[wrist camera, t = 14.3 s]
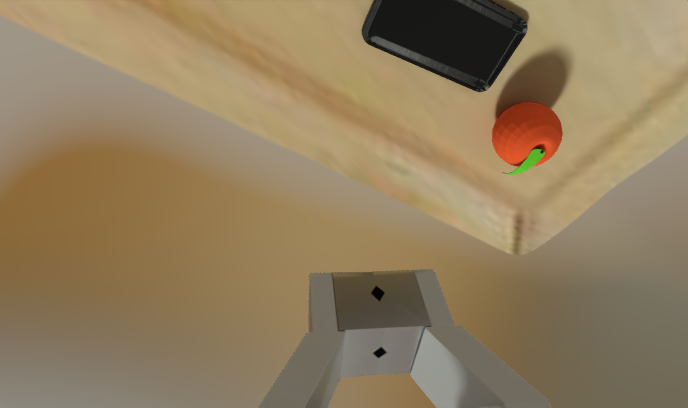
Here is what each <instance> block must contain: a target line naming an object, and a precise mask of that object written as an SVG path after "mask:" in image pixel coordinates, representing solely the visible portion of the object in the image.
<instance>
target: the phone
mask: <svg viewBox="0 0 688 408" xmlns="http://www.w3.org/2000/svg"><path fill="white" fill-rule="evenodd" d="M526 32H527V23H526V21H524V20H523V19H522V18H520V17H518V16H516V15H515V14H514V13H513V12H511V11H507V10H506V8H504V7H502V6H500V5H498V4H497V5H496V4H495V2H493V1H491V0H374V2H373V4H372V7H371V9H370V11H369V13H368V16H367V18H366V20H365V22H364V25H363V27H362V36H363V38H364V40H365V42H366V43H367V44H369V45H371V46H373V47H375V48H378V49H380V50H382V51H385V52H387V53H389V54H391V55H394V56H396V57H398V58H401V59H403V60H405V61H408V62H410V63H412V64H414V65H417V66H419V67H421V68H424V69H426V70H428V71H431V72H433V73H435V74H437V75H440V76H442V77H444V78H447V79H449V80H451V81H453V82H456V83H458V84H460V85H463V86H465V87H467V88H470V89H472V90H474V91H477V92H483V91H486V90H487V89H489V88H490V87H491V85H492V84H493V82H494V81H495V79H496V78H497V76H498V75H499V74H500V72H501V71H502V69H503V68H504V66H505V65H506V63H507V62H508V60H509V59H510V57H511V56H512V54H513V53H514V51H515V50H516V48H517V47H518V45H519V44H520V42H521V41H522V39H523V38H524V36H525V34H526Z"/></svg>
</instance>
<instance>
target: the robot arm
mask: <svg viewBox="0 0 688 408" xmlns="http://www.w3.org/2000/svg"><path fill="white" fill-rule="evenodd" d="M308 316H309V317H308V318H309V319H308V322H309V323H308V324H309V333H306V335H305V336H304V338H303V339H302V341H301V342H300V344H299V346H298V347H297V349H296V350H295V352H294V353H293V355H292V356H291V358H290V359H289V361H288V363H287V364H286V366H285V367H284V369H283V370H282V372H281V373H280V375H279V377H278V378H277V380H276V381H275V383H274V384H273V386H272V387H271V389H270V391H269V392H268V394H267V395H266V397H265V398H264V400H263V401H262V403H261V405H260V406H259V408H327V407H328V405H329V403H330V400H331V398H332V396H333V394H334V392H335V389H336V387H337V385H338V383H339V381H340V378H342V377H353V376H364V375H375V374H402V373H411V374H410V375H411V377H412V378H413V379H414V380H415V382H416V383H417V384H418V385H419V386H420V388H421V389H422V390H423V391H424V393H425V394H426V395H427V396H428V398H430V400H431V401H432V402H433V404H434V405H435V406H436V407H437V408H552V407H551V405H550V403H549V400H547V399H546V398H545V397H544V396H543V395H541V394H540V393H539V392H538V391H537V390H536V389H534V388H533V387H532V386H531V385H530V384H529V383H527V382H526V381H525V380H524V379H523V378H522V377H521V376H519V375H518V374H517V373H516V372H515V371H513V370H512V369H511V368H510V367H509V366H508V365H507V364H505V363H504V362H503V361H502V360H501V359H500V358H498V357H497V356H496V355H495V354H494V353H493V352H491V351H490V350H489V349H488V348H487V347H486V346H484V345H483V344H482V343H481V342H480V341H479V340H477V339H476V338H475V337H474V336H473V335H472V334H471V333H469V332H468V331H467V330H466V329H465V328H464V327H462V326H455V324H454V321H453V319H452V316H451V313H450V311H449V308H448V306H447V303H446V300H445V298H444V295H443V293H442V290H441V287H440V284H439V282H438V279H437V276H436V274H435V272H434V271H433V270H432V269H428V270H397V271H376V272H375V271H374V272H337V273H336V272H334V273H333V272H332V273H310V275H309V315H308Z"/></svg>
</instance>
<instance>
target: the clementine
mask: <svg viewBox="0 0 688 408" xmlns="http://www.w3.org/2000/svg"><path fill="white" fill-rule="evenodd" d="M561 140H562V127H561V122H560V120H559V118H558V117H557V115H556V114H555V113H554V111H552V110H551V109H550V108H548V107H547V106H545V105H542V104H539V103H534V102H524V103H519V104H516V105H514V106H512V107H510V108H508V109H507V110H506V111H504V112H503V113H502V114H501V115H500V117H499V118H498V119H497V121H496V123H495V124H494V128H493V132H492V142H493V146H494V149H495V151H496V153H497V154H498V155H499V157H500V158H502V159H503V160H504V161H505V162H507V163H508V164H511V165H514V166H517V167H518V168H517V169H516V170H514V171H513V172H511V173H506V174H509V175H512V174H518V173H521V172H524V171H526V170H528V169H529V168H531V167H533V166H537V165H540V164H542V163H544V162H545V161H547V160H549V159H550V158H551V157H552V156H553V155H554V154H555V152H556V151H557V150H558V147H559V145H560V143H561ZM502 173H504V172H502Z"/></svg>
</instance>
